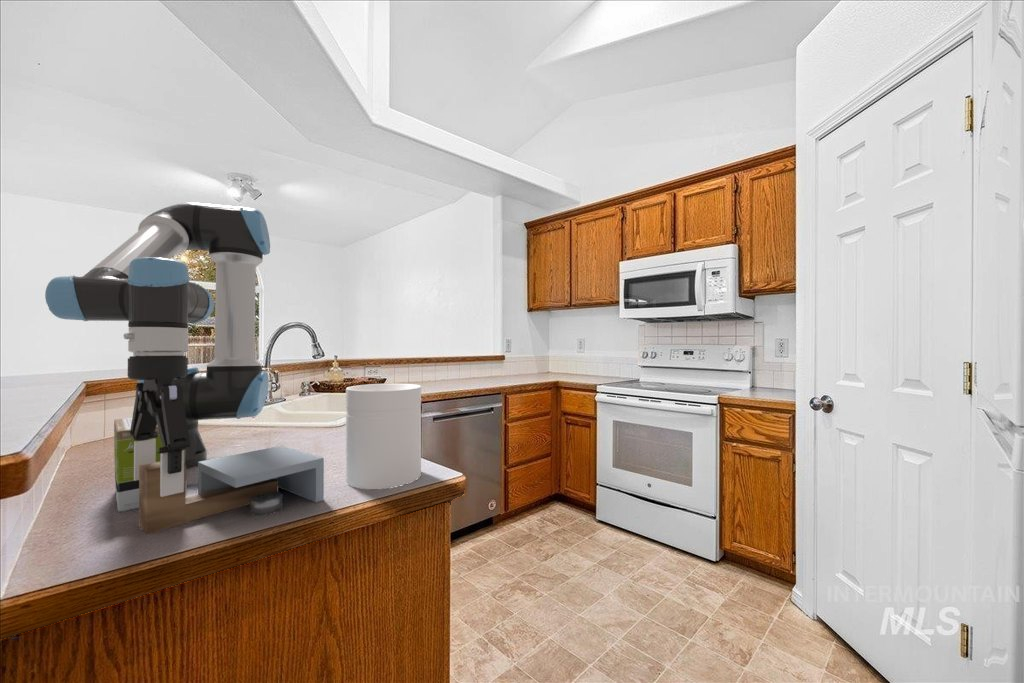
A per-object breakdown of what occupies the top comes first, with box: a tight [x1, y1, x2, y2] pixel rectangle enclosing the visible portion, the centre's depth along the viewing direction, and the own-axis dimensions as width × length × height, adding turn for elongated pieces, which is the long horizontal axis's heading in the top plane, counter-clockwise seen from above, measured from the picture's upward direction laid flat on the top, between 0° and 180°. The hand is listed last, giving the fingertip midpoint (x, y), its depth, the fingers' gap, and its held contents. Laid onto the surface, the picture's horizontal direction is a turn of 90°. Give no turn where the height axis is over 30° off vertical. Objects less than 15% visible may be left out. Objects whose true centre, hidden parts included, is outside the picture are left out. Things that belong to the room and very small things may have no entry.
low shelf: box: [197, 445, 325, 503], centre depth 79 cm, size 16×15×8 cm
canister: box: [345, 382, 422, 490], centre depth 94 cm, size 16×16×20 cm
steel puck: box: [249, 491, 283, 516], centre depth 76 cm, size 5×5×2 cm
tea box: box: [113, 417, 187, 513], centre depth 83 cm, size 15×10×15 cm, turn 45°
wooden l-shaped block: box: [138, 462, 279, 535], centre depth 76 cm, size 4×20×10 cm, turn 144°
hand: (157, 485), depth 69 cm, fingers open, 13 cm apart
